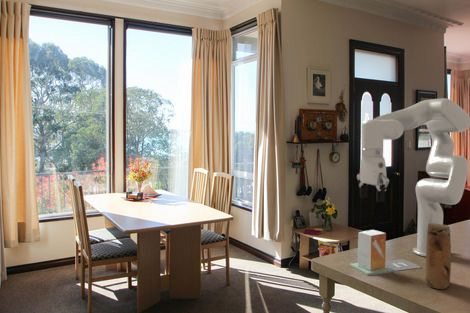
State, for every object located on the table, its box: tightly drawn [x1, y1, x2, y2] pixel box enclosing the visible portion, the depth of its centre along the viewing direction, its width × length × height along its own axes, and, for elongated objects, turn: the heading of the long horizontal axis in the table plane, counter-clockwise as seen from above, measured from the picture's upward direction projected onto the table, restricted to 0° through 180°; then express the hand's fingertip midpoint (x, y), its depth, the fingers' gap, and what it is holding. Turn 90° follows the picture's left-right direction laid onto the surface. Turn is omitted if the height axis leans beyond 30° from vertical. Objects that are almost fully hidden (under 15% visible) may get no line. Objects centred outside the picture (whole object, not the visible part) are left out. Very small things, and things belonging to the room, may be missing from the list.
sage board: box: [349, 262, 394, 276], centre depth 146 cm, size 11×11×1 cm
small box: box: [357, 229, 387, 271], centre depth 145 cm, size 8×6×13 cm
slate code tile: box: [385, 258, 423, 272], centre depth 150 cm, size 12×10×1 cm
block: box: [424, 223, 452, 290], centre depth 130 cm, size 11×8×20 cm
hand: (371, 199), depth 145 cm, fingers open, 9 cm apart
